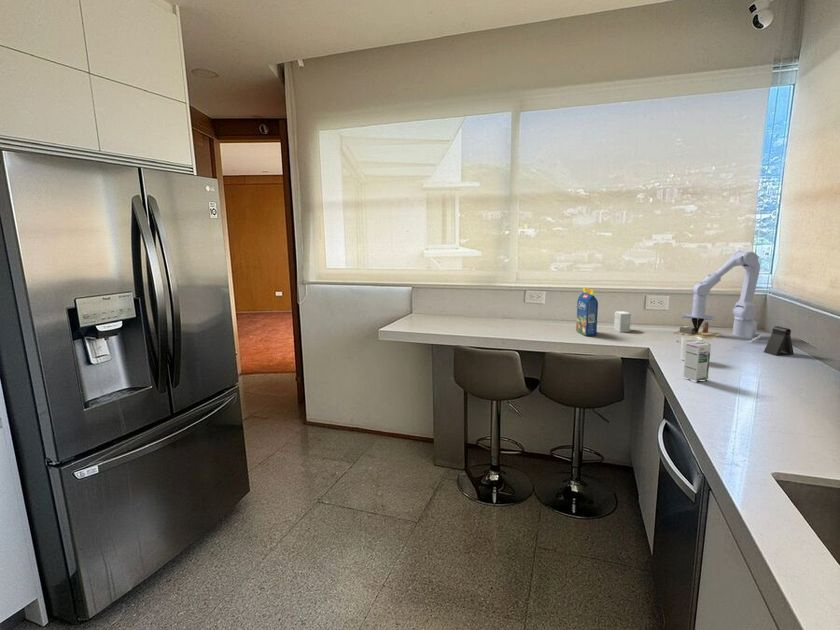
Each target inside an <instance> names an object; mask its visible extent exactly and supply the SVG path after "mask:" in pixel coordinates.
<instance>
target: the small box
mask: <svg viewBox="0 0 840 630" xmlns="http://www.w3.org/2000/svg"><path fill="white" fill-rule="evenodd" d="M631 316H632V314H631V313H630V312H627V311H624V310H623V311H622V310H620V311H619V310H617V311H614V325H613V329H614V330H615V331H617V332H618V333H630V332H631V319H632V318H631Z"/></svg>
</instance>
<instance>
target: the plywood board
mask: <svg viewBox="0 0 840 630" xmlns="http://www.w3.org/2000/svg"><path fill="white" fill-rule="evenodd" d="M679 332H680V329H679V330H677V331H675V332H673V335H674V334H676V335H681V336H695V337H700V338H702V339H706V340H707V339H708V340H712V339H714V338H716V337H718V336H721V335H722V333H719V332H713V331H711V332H710V331H708V333H703V330H699V331H698V333H695V334H692V335H691V334H685V333H679Z"/></svg>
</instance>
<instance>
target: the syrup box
mask: <svg viewBox="0 0 840 630" xmlns="http://www.w3.org/2000/svg"><path fill="white" fill-rule="evenodd" d="M711 346H712V345H711V344H710V343H708V342H705V341H702V342H701V341H696V342H687V343H686V351H685V361H684V366H683V377H686V378H689V379H692V380H695V381H700V380H707V379H708V380H709V372H710V371H709V370H710V357H711Z"/></svg>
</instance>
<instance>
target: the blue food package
mask: <svg viewBox="0 0 840 630" xmlns="http://www.w3.org/2000/svg"><path fill="white" fill-rule="evenodd" d="M576 304H577V305H576V324H575V325H576V327H575V329H576V330H575V331H576V332H577V333H578V334H581V335H583V336H586V337H592V336H593V337H594V336H595V337H596V336H597V331H598V329H597V328H598V311H599V303H598V298H596V296H595V295H594V290H593V289H591V288H587V287H583V288H582V292H581V293H580V295H579V296H578V297H577V303H576Z"/></svg>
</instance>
